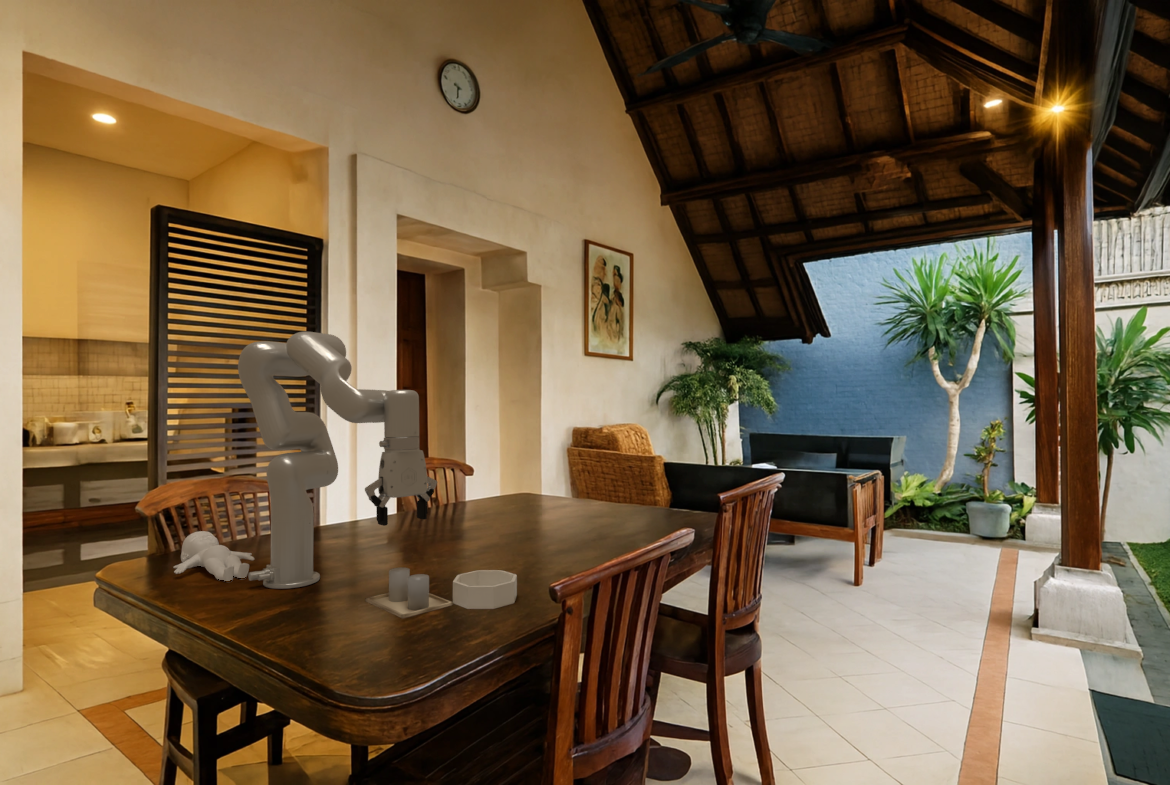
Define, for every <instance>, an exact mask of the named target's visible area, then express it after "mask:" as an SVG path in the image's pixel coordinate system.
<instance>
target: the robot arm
mask: <svg viewBox="0 0 1170 785" xmlns="http://www.w3.org/2000/svg"><path fill="white" fill-rule="evenodd" d="M346 356H347V349H346V345H345V343H344V342H343V340H342V339H340V338H339V337H338V336H336V335H333V334H329V333H323V332H315V331H314V332H313V331H299V332H296V333H294V334H292V335H291V336H290V337H288V339H287V341H286V342H279V341H272V340H271V341H268V340H261V341H254V342H251V343H249V344H247V345H246V346H245V347H244V348H243V349H242V351H241V352H240V354H239V357H238V364H237V372H238V376H239V381H240V382H241V386H242V388H243V389H244V391H245V393H246V395H247V397H248V400H249V401H250V404H251V407H252V411H253V414H254V417H255V420H256V424H257V427H258V430H259V433H260V435H261V439H262V441H263V443H264V445H265V447H266V448H268V449H270V450H272V451H290V450H291V451H292V450H300V451H293V452H286V453H281V454H279V455H276V456H275V457H273V458H272V459H271V460H270V462H269V463H268V465H267V467H266V472H265V473H266V481H267V485H268V490H269V497H270V500H269V501H270V563H269V564H266V567H265V568H262V570H255V571H250V572H249V571H248V574H247V576H248V581H256V580H258V581H262V584H263V585H262V586H264V587H265V588H267V589H268V588H269V589H274V590H275V589H277V590H281V589H282V590H285V589H286V590H287V589H294V588H295V589H296V588H300V587H302V588H303V587H306V586H309V585H312V584H315V583H317V582H319V580H320V578H321V575H320V573H319V572H317V571H314V505H313V502H312V500H311V498H310V496H309V494H308V493H307V491H308V490H312V489H318V488H325V487H327V486H330V485H332V484H333V483H334V482H335V481H336V480H337V477H338V475H339V464H338V459H337V455H336V453H335V450H334V447H333V443H332V441H331V437H330V434H329V431H328V429H327V426H326V424H325V422H324V420H323V419H322V418H321V417H320V416H319V415H317V414H316V413H315V412H309V411H296V410H294V408H293V407H292V404H291V402H290V398H289V395H288V393H287V391H285V388H283V386H282V385H281V384H280V383H279V382H278V381H277V380H276V379H275V377H274V376H277V377H296V378H297V377H306V376H309V377H311V378H312V379H313V380H315V381H316V382H317V383H318V384H320V385H319V386H320V388H319V389H320V394H321V397H322V399H323V402H324V403H325V404H326V405H327V407H328V408H329V409H330V410H332V411H333V412H334V413H335V414H336V415H338V417H340V418H342V419H343V420H344V421H347V422H349V423H352V424H367V423H370V424H371V423H374V424H379V423H384V424H383V425H384V429H383V430H384V437H383V440H380V441H379V443H378V444H379V447H380V448H383V450H384V451H382V452H381V456H380V461H379V467H378V478H377V479H376V480H375V481H374V482H372V483H370V484H369V485H367V486H365V488H364V492H365V494H366V496H367V497H368V500H369V501H370V502H371V503H372V504H373V505H374V507H376V521H377V525H379V526H380V525H381V526H388V524H389V523H388V521H389V517H388V515H389V513H388V511H389V510H388V507H387V506H386V505H387V503H388V502H389V501H390V499H391V498H392V499H393V498H394V499H395V498H396V499H397V498H405V497H412V496H413V497H414V496H416V498H417V499H418V500H417V501H416V517H417V519H419V520H427V519H428V507H429V506H428V502H429V501H430V500H431V497H432V495H433V494H434V493H435V489H436V487H437V485H438V481H437V480H436V479H434V478H432V477H430V476H428V473H427V472H428V471H427V463H426V458H425V454H424V450H421V449H420V396H419V394H418V392H417V391H415V390H411V389H392V390H382V389H365V388H363V389H357V388H356V387H354V386H353V385H352V384H350V383H349V382H348V380H349V378H350V376H351V373H352V364H351V362H350V360H349V359H347V357H346ZM377 489H378V494H379V495H378V496H377V495H376V492H375V490H377Z"/></svg>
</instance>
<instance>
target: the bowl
mask: <svg viewBox="0 0 1170 785" xmlns="http://www.w3.org/2000/svg"><path fill="white" fill-rule="evenodd" d="M517 596H518V576H517V574H516V573H512V572H509V571H507V570H506V571H505V570H500V569H499V570H498V569H490V570H489V569H480V570H479V569H478V570H473V571H469V572H464V573H459V574H457V575H456V577H455V578H454V579H453V581H452V602H453V605H456V606H459V607H461V608H464V609H467V610H470V609H471V610H494V609H495V610H496V609H498V608H501V607H506V606H508V605H509V606H510V605H513V604H515V603H516V602H515V601H516V600H517Z"/></svg>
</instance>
